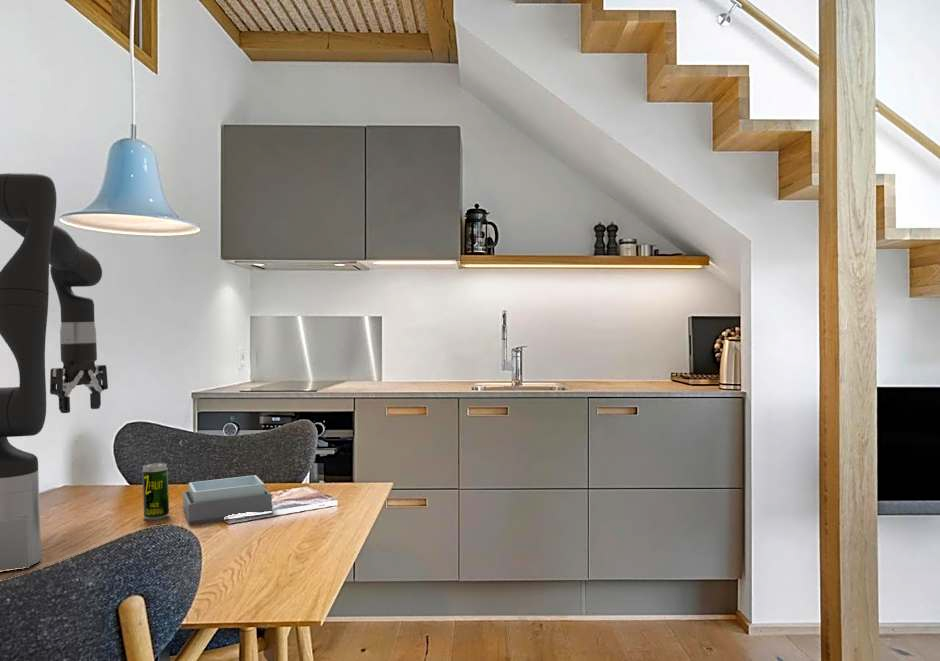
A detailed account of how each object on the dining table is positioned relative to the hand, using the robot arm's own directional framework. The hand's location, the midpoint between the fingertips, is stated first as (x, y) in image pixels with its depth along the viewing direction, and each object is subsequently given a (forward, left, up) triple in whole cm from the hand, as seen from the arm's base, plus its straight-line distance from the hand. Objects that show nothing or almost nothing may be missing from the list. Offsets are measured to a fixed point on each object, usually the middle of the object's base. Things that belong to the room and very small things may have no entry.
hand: (80, 410), depth 176 cm
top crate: (-16, -30, -25) cm, 42 cm away
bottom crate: (-16, -30, -25) cm, 42 cm away
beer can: (-12, -15, -25) cm, 31 cm away
